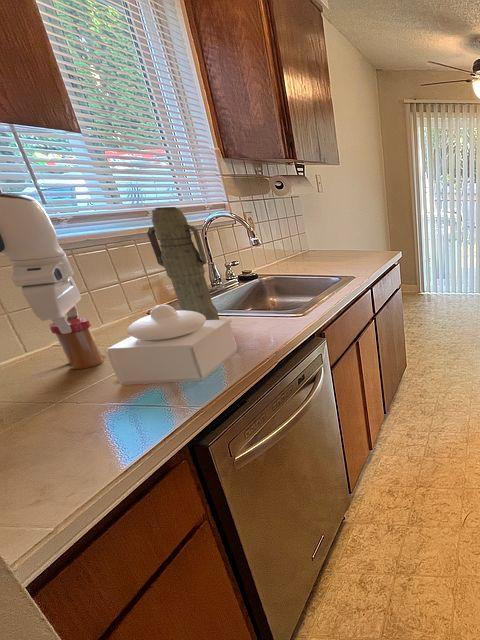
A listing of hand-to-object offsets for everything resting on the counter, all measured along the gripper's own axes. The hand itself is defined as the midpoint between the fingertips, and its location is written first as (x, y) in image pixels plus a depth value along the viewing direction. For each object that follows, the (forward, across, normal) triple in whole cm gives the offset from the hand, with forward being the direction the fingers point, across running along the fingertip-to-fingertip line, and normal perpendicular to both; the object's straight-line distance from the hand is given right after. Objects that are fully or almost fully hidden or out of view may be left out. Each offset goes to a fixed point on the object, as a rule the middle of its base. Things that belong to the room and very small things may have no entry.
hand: (71, 327), depth 95 cm
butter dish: (+10, +16, +20) cm, 28 cm away
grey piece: (+10, -10, +25) cm, 28 cm away
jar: (+10, 0, 0) cm, 10 cm away
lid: (-1, 0, 0) cm, 1 cm away
